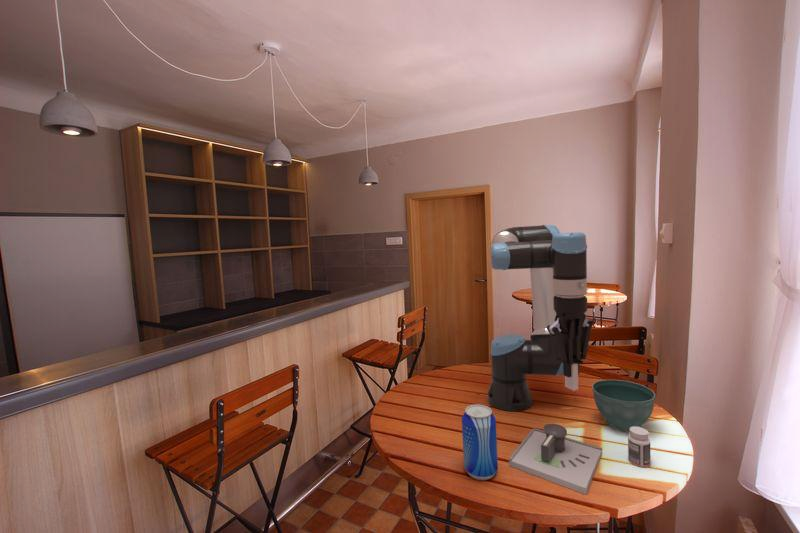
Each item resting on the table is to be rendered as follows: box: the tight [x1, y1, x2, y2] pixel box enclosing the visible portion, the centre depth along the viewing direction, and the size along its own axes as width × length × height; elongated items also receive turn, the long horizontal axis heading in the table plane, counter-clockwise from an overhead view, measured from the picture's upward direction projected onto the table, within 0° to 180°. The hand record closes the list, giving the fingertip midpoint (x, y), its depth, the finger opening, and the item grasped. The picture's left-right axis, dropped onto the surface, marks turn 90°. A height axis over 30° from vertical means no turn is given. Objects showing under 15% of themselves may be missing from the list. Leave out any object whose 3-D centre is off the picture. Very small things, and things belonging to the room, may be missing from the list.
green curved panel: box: [534, 453, 590, 468], centre depth 91 cm, size 11×9×1 cm
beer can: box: [461, 403, 499, 481], centre depth 90 cm, size 8×8×16 cm
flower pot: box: [591, 379, 656, 432], centre depth 108 cm, size 16×16×11 cm
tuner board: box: [508, 427, 603, 495], centre depth 93 cm, size 18×18×2 cm
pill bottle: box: [627, 426, 652, 468], centre depth 90 cm, size 5×5×8 cm
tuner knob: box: [541, 423, 568, 462], centre depth 94 cm, size 11×6×5 cm, turn 140°
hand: (571, 388), depth 89 cm, fingers closed
